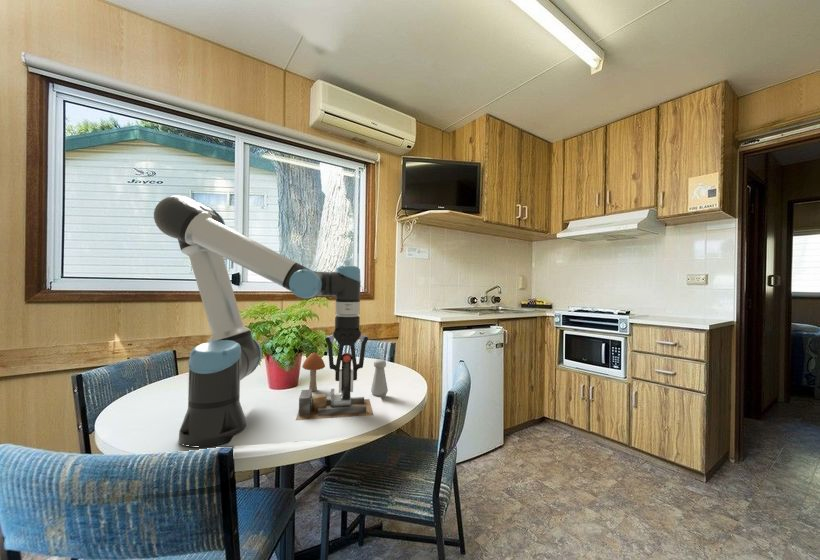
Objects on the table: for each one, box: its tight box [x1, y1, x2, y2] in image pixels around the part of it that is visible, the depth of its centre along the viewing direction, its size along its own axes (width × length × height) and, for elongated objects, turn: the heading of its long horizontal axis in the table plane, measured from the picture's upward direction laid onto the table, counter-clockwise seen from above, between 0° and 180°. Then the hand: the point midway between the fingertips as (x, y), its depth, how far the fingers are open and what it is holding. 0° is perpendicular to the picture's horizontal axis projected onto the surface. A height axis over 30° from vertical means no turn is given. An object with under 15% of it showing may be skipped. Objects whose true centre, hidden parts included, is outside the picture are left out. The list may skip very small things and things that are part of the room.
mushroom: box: [301, 351, 326, 393], centre depth 121 cm, size 8×8×15 cm
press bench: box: [295, 389, 375, 421], centre depth 104 cm, size 22×14×6 cm, turn 102°
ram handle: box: [330, 352, 352, 408], centre depth 105 cm, size 6×6×17 cm
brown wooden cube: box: [312, 393, 328, 412], centre depth 103 cm, size 4×4×4 cm
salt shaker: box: [370, 359, 389, 399], centre depth 119 cm, size 6×6×13 cm
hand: (345, 390), depth 105 cm, fingers closed on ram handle, 3 cm apart
